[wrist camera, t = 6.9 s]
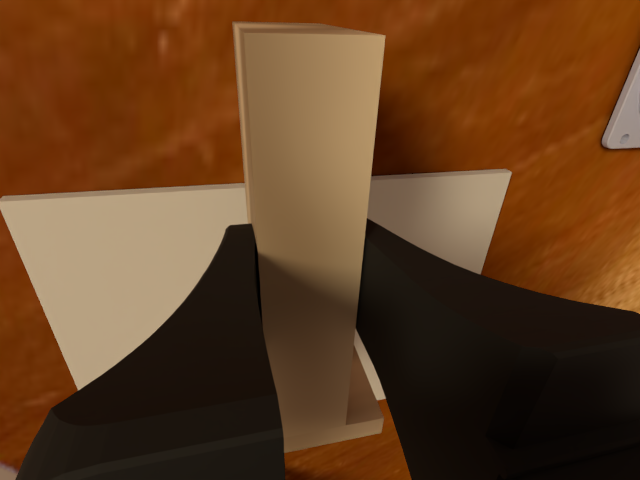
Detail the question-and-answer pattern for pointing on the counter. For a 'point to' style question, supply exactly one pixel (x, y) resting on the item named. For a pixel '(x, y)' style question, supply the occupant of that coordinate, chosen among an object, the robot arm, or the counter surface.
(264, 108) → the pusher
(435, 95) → the counter surface
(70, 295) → the mat
